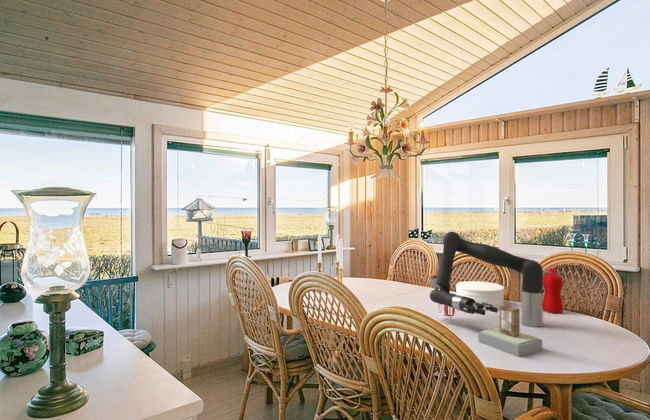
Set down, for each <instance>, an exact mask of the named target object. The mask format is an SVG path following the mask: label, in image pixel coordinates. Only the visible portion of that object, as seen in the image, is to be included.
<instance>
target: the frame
mask: <svg viewBox="0 0 650 420" xmlns="http://www.w3.org/2000/svg"><path fill="white" fill-rule="evenodd" d="M520 309H521V308H518V307H514V306H509V305H507V304H504V306H500V309H499V327H500V333H502V334H505V335H508V336H511V337H517V336H519V334H520V326H521V325H520V322H521V321H520V317H521V316H520Z"/></svg>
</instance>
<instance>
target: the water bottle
mask: <svg viewBox="0 0 650 420" xmlns="http://www.w3.org/2000/svg"><path fill="white" fill-rule="evenodd" d="M547 270H548V271H547V272H548V273H546V274H545V275H543V290H544V296H543V299H542V308H543V312H547V313H549V314H561V313H563V311H564V305H563V300H562V296H561V294H562V289H563V284H564V282H563V278H562V277H561V276H560V275H559V274H558V269H557V268H553V267H552V268H548V269H547Z"/></svg>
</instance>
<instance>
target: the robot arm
mask: <svg viewBox="0 0 650 420" xmlns="http://www.w3.org/2000/svg"><path fill="white" fill-rule="evenodd" d="M442 246H443V248H442V249H443V251H442V257H441V261H440V264H439V267H438V271H437V275H436V276H437V279H436V284H437V285H439V286H440V289H439V290H438V289H433V290H431V291H430V293H429V297H430V298H429V299H430V300H431V301H432V302H433V303H436V304H439V305H442V306H443V305H445V306H447V307H449V308H452V309H455V310H457V311H459V312H464V313H466V314H471V315H474V314H476V315H482V316H485V315H486V312H487V311H488V312H492V313H498V312H499V309H498V308H496V307H493V305H492V304H487V303H483V302H482V304H481V303H476V302H475V300H474V299H473V298H469V297H465V296H461V295H456V293H450V292H451V290H450V288H451V287H450V283H451V277H452V273H453V266H454V261H455V256H456V253H457V252H458V253H461V254H464V255H468V256H469V257H472V258H473V259H477V260H479V261H482V262H484V263H487V264H490V265H494V266H497V267H502V268H508V269H510V270H514V271H516V272H517V273H520V274H522V284H521V324H522V325H523V326H527V327H531V328H532V327H533V328H534V327H535V328H539V327H543V326H544V325H543V324H544V321H543V319H544V310H543V308H542V303H543V299H542V297H543V295H542V293H543V288H544V286H543V277H544V269H543V267H542V265H541V264H540V263H539V262H538V261H536V260H534V259H528V258H525V257H522V256H521V257H520V256H517V255H514V254H511V253H510V252H508V251H505V250H502V249H500V248H497V247H495V246H493V245H489V244H485V243H479V242H473V241H469V240H466V239H464V238H461V237H460V235H459V234H458V233H457V232H455V231H448V232H447V233H445V234H444V236H443V237H442ZM483 308H484V309H483Z"/></svg>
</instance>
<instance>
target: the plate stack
mask: <svg viewBox="0 0 650 420" xmlns="http://www.w3.org/2000/svg"><path fill="white" fill-rule="evenodd" d="M504 290H505V287H504V286H503V285H502V284H499V283H494V282H488V281H477V280H476V281H475V280H466V281H459V282H457V283H455V291H456V292H455V294H456V295H461V296H465V297H469V298H473V299H474V300H475V302H476V303H481V304H482V302H483V303H487V304H492V305H493V307H496V308H498V310H500V309H499V308H500V306H504V305H505V303H504V302H505V300H504V299H505V296H504V294H505V291H504ZM483 310H484V308H483Z"/></svg>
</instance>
